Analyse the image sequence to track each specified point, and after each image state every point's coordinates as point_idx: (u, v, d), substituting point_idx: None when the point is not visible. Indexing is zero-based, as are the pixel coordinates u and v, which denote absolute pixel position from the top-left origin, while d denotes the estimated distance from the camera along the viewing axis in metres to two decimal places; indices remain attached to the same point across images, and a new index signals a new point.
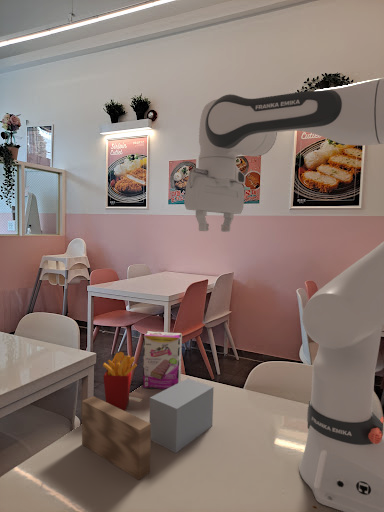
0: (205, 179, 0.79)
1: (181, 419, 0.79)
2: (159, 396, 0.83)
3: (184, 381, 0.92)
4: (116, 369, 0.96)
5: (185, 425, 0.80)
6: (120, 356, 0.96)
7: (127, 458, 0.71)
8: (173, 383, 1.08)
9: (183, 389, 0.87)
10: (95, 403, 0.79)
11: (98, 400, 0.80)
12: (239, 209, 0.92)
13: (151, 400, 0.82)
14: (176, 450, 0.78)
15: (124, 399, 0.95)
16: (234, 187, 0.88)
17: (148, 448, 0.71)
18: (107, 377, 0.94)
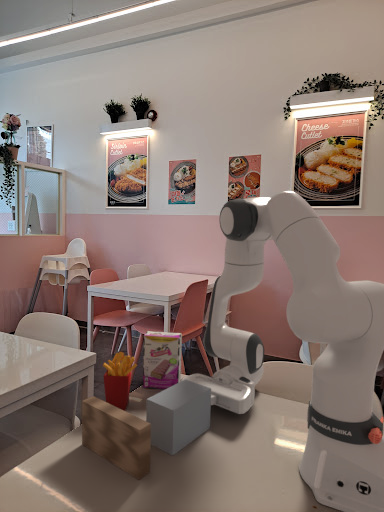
0: (201, 374, 1.04)
1: (178, 421, 0.78)
2: (156, 397, 0.82)
3: (181, 382, 0.91)
4: (116, 369, 0.96)
5: (182, 427, 0.79)
6: (120, 356, 0.96)
7: (127, 458, 0.71)
8: (173, 383, 1.08)
9: (180, 391, 0.86)
10: (95, 403, 0.79)
11: (98, 400, 0.80)
12: (237, 397, 0.90)
13: (148, 402, 0.81)
14: (172, 452, 0.77)
15: (124, 399, 0.95)
16: (234, 384, 0.96)
17: (148, 448, 0.71)
18: (107, 377, 0.94)
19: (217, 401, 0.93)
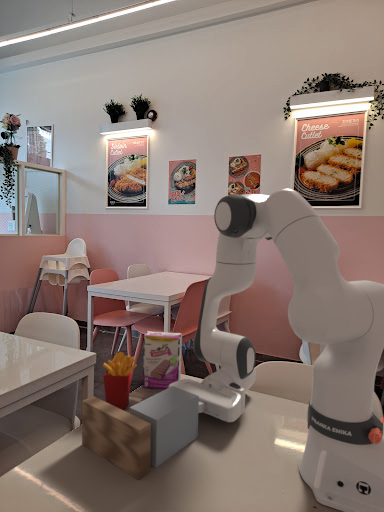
0: (190, 380, 1.00)
1: (162, 431, 0.74)
2: (140, 406, 0.78)
3: (168, 389, 0.87)
4: (116, 369, 0.96)
5: (167, 437, 0.75)
6: (120, 356, 0.96)
7: (127, 458, 0.71)
8: None
9: (166, 398, 0.82)
10: (95, 403, 0.79)
11: (98, 400, 0.80)
12: (226, 404, 0.86)
13: (131, 410, 0.77)
14: (156, 464, 0.73)
15: (124, 399, 0.95)
16: (224, 390, 0.92)
17: (148, 448, 0.71)
18: (107, 377, 0.94)
19: (205, 409, 0.89)
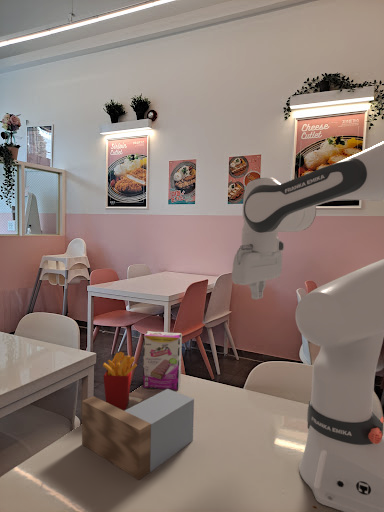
0: (251, 255, 0.84)
1: (156, 435, 0.73)
2: (134, 409, 0.77)
3: (163, 392, 0.85)
4: (116, 369, 0.96)
5: (161, 442, 0.74)
6: (120, 356, 0.96)
7: (127, 458, 0.71)
8: (173, 383, 1.08)
9: (160, 402, 0.80)
10: (95, 403, 0.79)
11: (98, 400, 0.80)
12: (278, 274, 0.97)
13: None
14: (150, 469, 0.72)
15: (124, 399, 0.95)
16: (274, 256, 0.93)
17: (148, 448, 0.71)
18: (107, 377, 0.94)
19: None
